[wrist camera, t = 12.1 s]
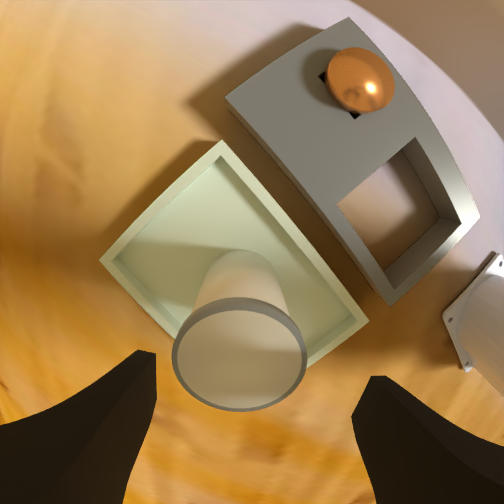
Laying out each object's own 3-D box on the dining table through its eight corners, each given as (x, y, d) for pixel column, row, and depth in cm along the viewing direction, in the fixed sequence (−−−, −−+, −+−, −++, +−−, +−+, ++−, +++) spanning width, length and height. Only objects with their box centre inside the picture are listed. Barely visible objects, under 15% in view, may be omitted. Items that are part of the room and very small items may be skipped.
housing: (458, 211, 17) (480, 216, 15) (374, 291, 18) (390, 307, 16) (336, 33, 14) (348, 17, 12) (227, 108, 15) (224, 96, 13)
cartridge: (290, 256, 17) (326, 319, 9) (269, 327, 18) (284, 418, 10) (209, 238, 17) (180, 289, 9) (195, 312, 18) (166, 397, 10)
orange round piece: (379, 102, 15) (406, 90, 12) (340, 133, 16) (362, 123, 12) (342, 59, 14) (362, 37, 11) (301, 86, 15) (314, 67, 12)
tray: (361, 310, 19) (369, 321, 17) (250, 389, 20) (250, 403, 19) (223, 142, 16) (222, 139, 14) (109, 253, 17) (98, 260, 16)
